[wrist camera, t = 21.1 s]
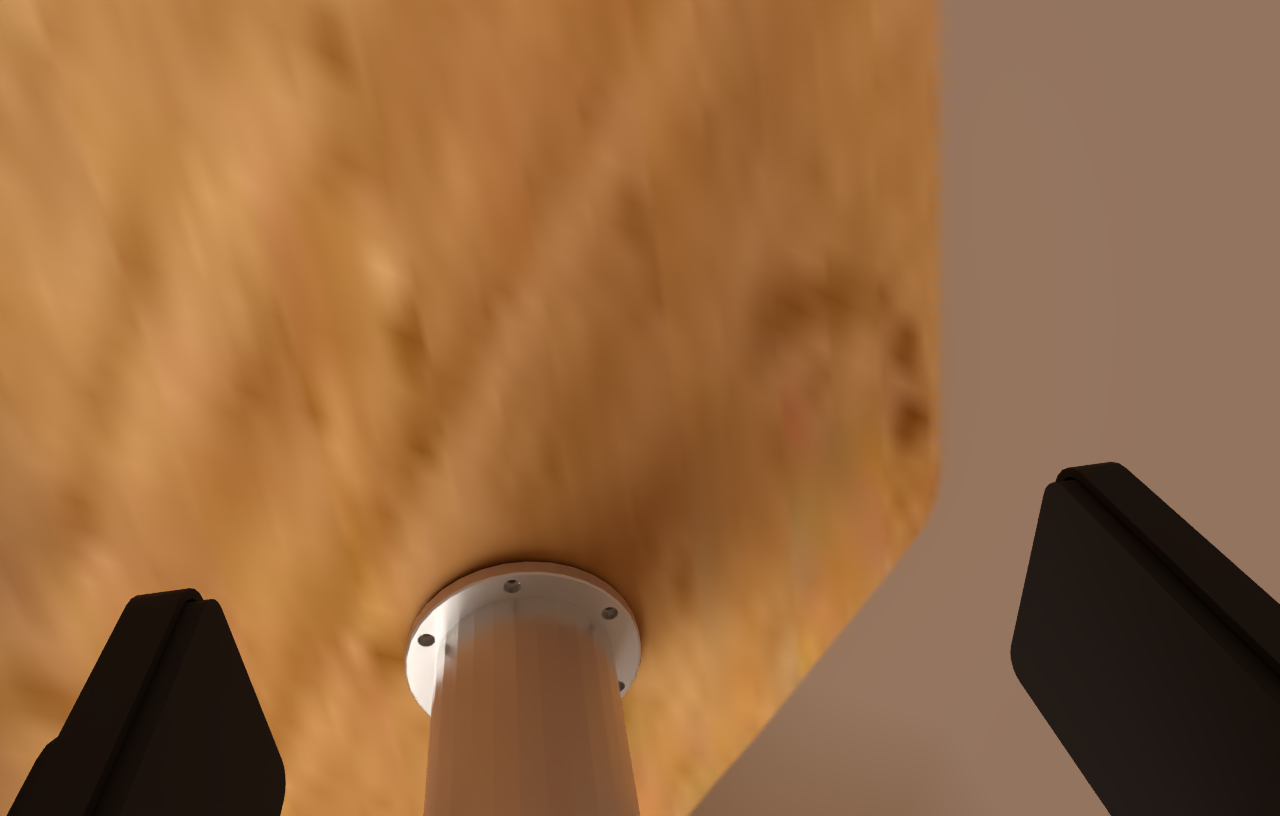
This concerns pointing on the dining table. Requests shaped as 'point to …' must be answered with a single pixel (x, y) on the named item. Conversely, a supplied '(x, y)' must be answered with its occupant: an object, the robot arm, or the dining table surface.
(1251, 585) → the robot arm
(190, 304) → the dining table surface
